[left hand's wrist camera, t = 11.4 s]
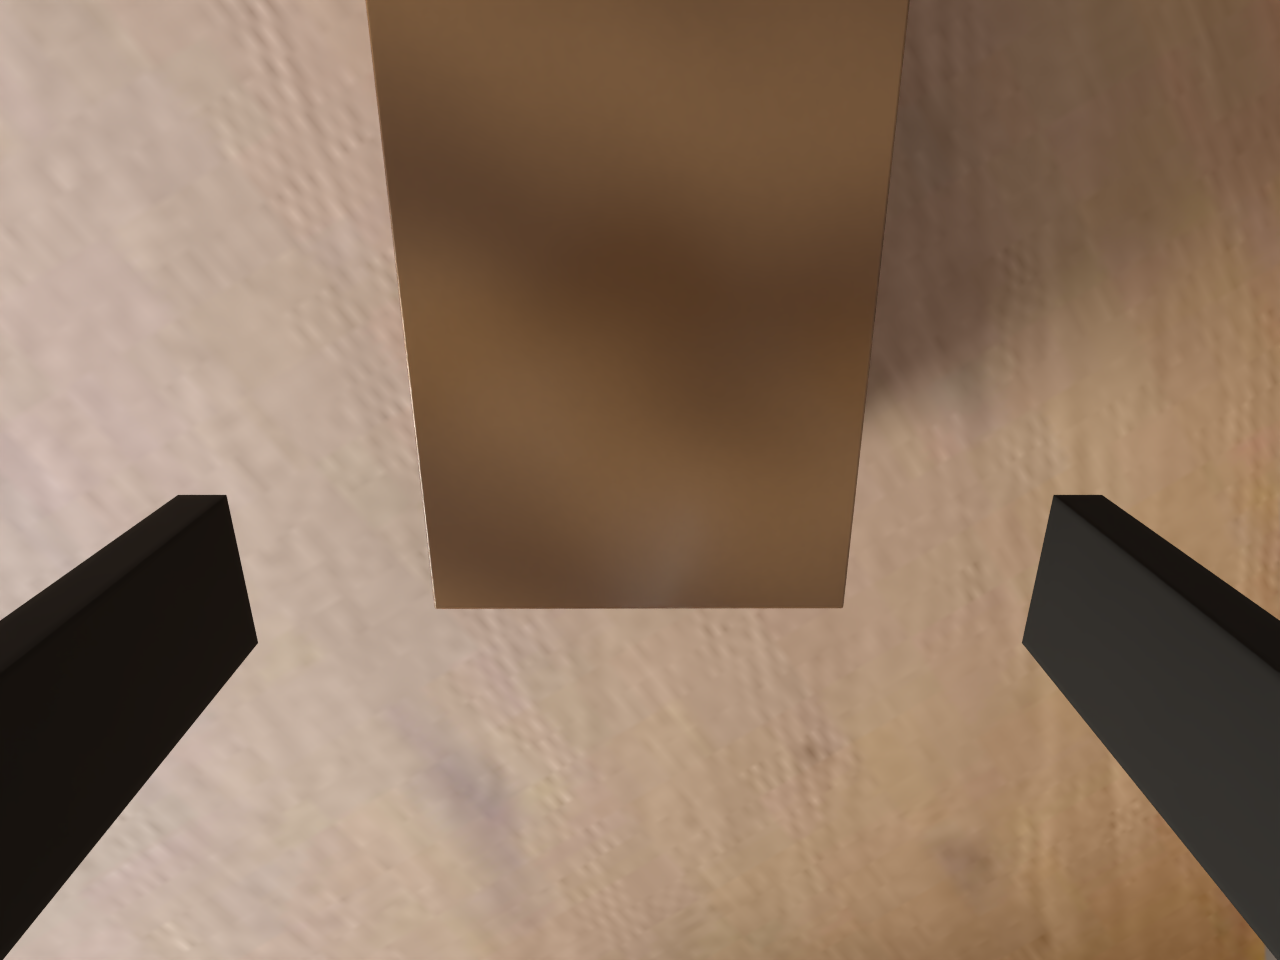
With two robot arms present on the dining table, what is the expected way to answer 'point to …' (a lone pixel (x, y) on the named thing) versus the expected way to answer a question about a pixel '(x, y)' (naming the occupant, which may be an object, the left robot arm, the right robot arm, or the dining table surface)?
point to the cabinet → (638, 289)
